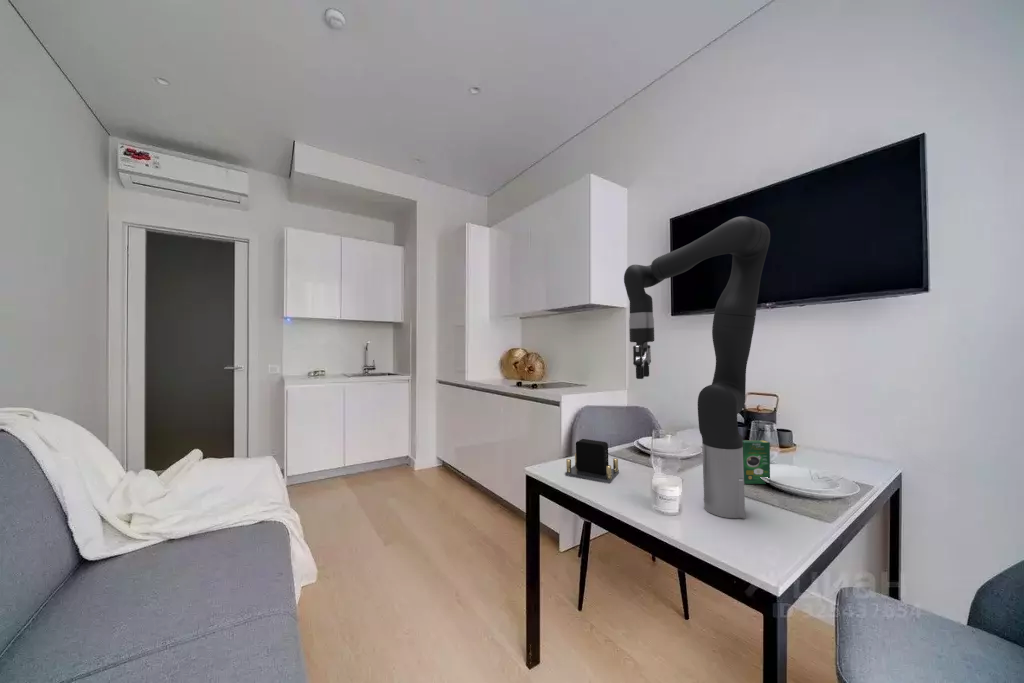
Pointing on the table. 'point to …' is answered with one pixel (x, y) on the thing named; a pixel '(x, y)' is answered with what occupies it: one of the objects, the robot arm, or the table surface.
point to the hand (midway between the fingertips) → (642, 377)
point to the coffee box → (756, 461)
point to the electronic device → (591, 456)
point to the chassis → (604, 478)
